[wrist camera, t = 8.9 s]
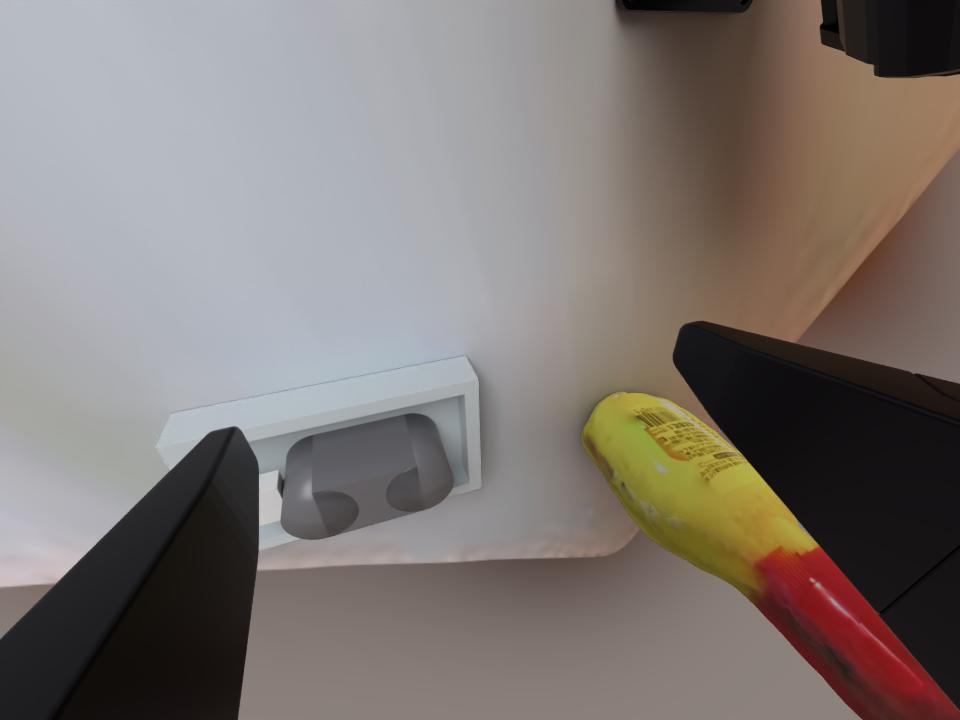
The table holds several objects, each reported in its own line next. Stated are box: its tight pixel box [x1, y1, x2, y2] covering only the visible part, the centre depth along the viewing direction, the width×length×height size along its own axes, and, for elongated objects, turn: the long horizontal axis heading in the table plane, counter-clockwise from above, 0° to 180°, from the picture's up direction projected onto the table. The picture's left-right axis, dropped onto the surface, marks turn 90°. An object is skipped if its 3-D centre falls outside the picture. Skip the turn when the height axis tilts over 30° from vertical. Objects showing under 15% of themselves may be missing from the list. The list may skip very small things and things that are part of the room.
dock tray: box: [156, 356, 481, 551], centre depth 23 cm, size 15×9×2 cm, turn 92°
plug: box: [259, 413, 454, 540], centre depth 22 cm, size 11×4×4 cm, turn 92°
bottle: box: [581, 392, 960, 720], centre depth 24 cm, size 12×6×20 cm, turn 66°
